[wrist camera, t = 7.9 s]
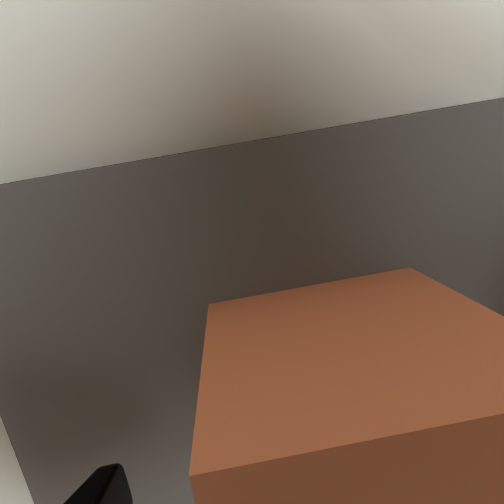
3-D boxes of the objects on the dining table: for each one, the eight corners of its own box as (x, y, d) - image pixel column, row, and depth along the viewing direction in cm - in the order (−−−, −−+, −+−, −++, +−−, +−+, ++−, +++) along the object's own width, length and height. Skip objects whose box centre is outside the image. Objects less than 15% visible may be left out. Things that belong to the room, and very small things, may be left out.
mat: (616, 79, 8) (630, 76, 8) (591, 489, 11) (600, 497, 11) (-72, 197, 8) (-84, 198, 8) (79, 598, 11) (75, 610, 10)
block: (410, 267, 9) (638, 386, 4) (420, 438, 10) (607, 693, 5) (208, 303, 9) (188, 476, 4) (243, 473, 10) (262, 772, 5)
